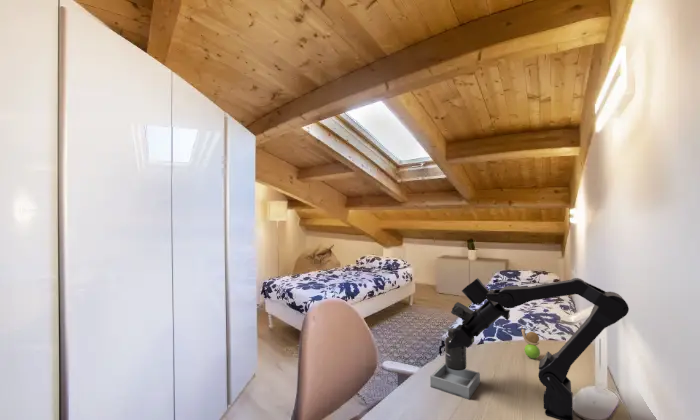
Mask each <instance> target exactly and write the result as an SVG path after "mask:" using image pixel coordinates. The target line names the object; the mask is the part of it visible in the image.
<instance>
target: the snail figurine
mask: <svg viewBox="0 0 700 420" xmlns="http://www.w3.org/2000/svg"><path fill="white" fill-rule="evenodd" d="M523 327H524V326H522V325H521V333H522V338H523V340H524V342H525V343H527V344H526V345H525V346H524V353H525V355H526V356H527V357H528V358H530V359H532V360H533V359H534V360H535V359H538V358H539V357H540V355H541V351H540V349H539V347H538V345H539V344H540V342H539V341H540V336H539V335H538V333H536V332H534V331H529V332H527V333H526V329H524V328H523Z"/></svg>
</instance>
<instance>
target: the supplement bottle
mask: <svg viewBox="0 0 700 420" xmlns="http://www.w3.org/2000/svg"><path fill="white" fill-rule="evenodd" d="M455 328H456V327H451V328H448V329H447V336H446V338H445V340H444V363H445V364H446V366H447V367H448V368H450V369H452V370H458V371H460V370H464V369H467V347H465V346H464V347H458V348H452V349H449V348H448V347H447V346H448V344H449V343H450V342H451V340H452V339H453V337H454V336H455V334H454V333H453V330H454V329H455Z"/></svg>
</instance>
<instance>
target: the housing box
mask: <svg viewBox="0 0 700 420" xmlns="http://www.w3.org/2000/svg"><path fill="white" fill-rule="evenodd" d="M480 383H481V373H480V372H479V371H475V370H471V369H468V368H465V369H464V370H460V371H458V370H452V369H450V368H448V367H447V366H446V364H445V362H444V363H442V365H440V367H438V369H436V370H435V371H434V372H433V373H432V374H431V375H430V387H431V388H433V389H435V390H439V391H442V392H444V393H448V394H451V395H454V396H457V397H460V398H462V399H466V400H470V399H471V397H472V396H473V394H474V393H475V392H476V390H477V389H478V387H479V385H480Z"/></svg>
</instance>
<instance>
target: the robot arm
mask: <svg viewBox="0 0 700 420" xmlns="http://www.w3.org/2000/svg"><path fill="white" fill-rule="evenodd" d="M461 293H463V295H465V297H466V298H467V299H468V300H469V301H470V302H471V303H472V305H478V306H480V305H481V304H482V305H481V306H480V307H479V308H476V309H474V310H473V309H471V308H470V307H467V306H466V305H465V304H463V303H461V302H458V301H457V302H456V303H454V305H453V307H452V308H451V311H450V312H451V314H452V315H453V316H456V317H458V318H459V319H461V320H462V322H461V323H462V324H458V325H457V326H456V327H454V328H455V329H454V330H453V333H454V334H455V336H454V337H453V339H452V340H451V342H450V343H449V344H448V346H447V347H448V348H449V349H452V348H458V347H464V346H465V347H466V349H468V348H470V347H471V346H472V345H473V344H474V342H475V337H476V338H477V337H479V335H481V333H482V332H484V330H487V329H489V327H490V326H491V325H492V324H493V323H494V322H496V321H497V320H499V319H500V318H501V317H503V318H504V319H505V320H506V321H508V320H509V319H510V317H511V316H510V315H511V314H510V313H511V310H510V309H512V308H516V307H519V306H523V305H524V304H526V303H528V302H533V301H539V300H544V299H545V300H546V299H551V298H559V297H565V296H567V297H568V296H572V295H578V296H580V297H582V298H583V299H585V300H586V301H587V302H590V303H591V304H593V306H592V309H591V312H590V314H589V316H588V317H587V318H586V320H585V321H584V322H583V323H581V325H580V326H579V328H577V329H576V331H575V332H574V333H573V334H572V336H570V338H569V339H568V340H567V341H566V342H565V343H564V345H562V347H560V349H559V350H558V351H557V352H555V353H553V354H552V353H551V352H550V351H547V352H546V353H545V355H544V357H543V358H541V359H540V360H539V363H538V373H537V374H538V380H539V382H540V383H541V384H542V385H543V387H545V390H544V392H543V409H544V410H545V411H544V414H545V415H547V416H549V417H552V418H555V419H559V420H574V415H575V411H574V402H573V401H574V399H573V398H574V397H573V394H574V393H573V392H572V382H571V380H570V379H569V378H568V377H567V376H568V373H569V371H570V369H571V366H572V365H573V364H574V362H576V360H577V359H578V358H579V357H580V356H581V355H582V354H583V353H584V352H585V351H586V349H587V348H588V347H590V345H591V344H592V343H593V342H594V341H595V340H596V339H597V337H599V336H600V334H601V333H602V332H603V331H604V330H605V329H607V328H608V327H610V326H612V325H614V324H616V323H617V322H619V321H620V320H621V319H623V318H624V317H626V316H627V314H629V310H630V308H629V305H628V303H627V301H626V300H625V299H624V298H623V296H622V295H620V294H619V293H617V292H615V291H605V290H603V289H601V288H599V287H597V286H595V285H593V284H591V283H588V282H586V281H585V280H583V279H582V278H579V277H574V278H572V279H566V280H562V281H561V280H560V281H556V282H549V283H543V284H537V285H531V286H521V285H506V286H503V287H502V288H500V289H490V290H489V289H488V288H487V286H486V285H484V284H483V282H482V281H481V280H480V279H479V278H478V277H477V278H475V279H474V280H473V281H472V282H471V283H469V284H468V285H466V286H465V287H463V289H462V290H461ZM485 300H486V302H485ZM484 302H485V303H484ZM483 303H484V304H483Z"/></svg>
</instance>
